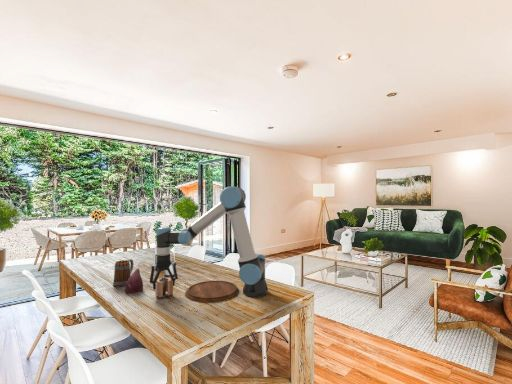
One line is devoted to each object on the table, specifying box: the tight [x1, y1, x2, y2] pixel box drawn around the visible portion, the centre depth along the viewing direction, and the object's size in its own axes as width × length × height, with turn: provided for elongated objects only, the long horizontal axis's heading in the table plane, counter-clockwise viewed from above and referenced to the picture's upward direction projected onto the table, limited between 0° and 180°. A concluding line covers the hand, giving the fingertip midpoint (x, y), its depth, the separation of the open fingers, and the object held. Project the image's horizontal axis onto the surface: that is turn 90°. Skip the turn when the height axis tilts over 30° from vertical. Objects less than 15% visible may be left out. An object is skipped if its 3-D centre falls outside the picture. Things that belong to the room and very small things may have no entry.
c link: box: [156, 276, 174, 298], centre depth 155 cm, size 8×8×8 cm
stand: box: [161, 276, 168, 298], centre depth 155 cm, size 4×4×11 cm
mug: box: [112, 258, 134, 288], centre depth 179 cm, size 16×11×15 cm
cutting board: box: [184, 280, 240, 304], centre depth 162 cm, size 32×32×3 cm
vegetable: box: [124, 267, 144, 295], centre depth 165 cm, size 10×10×15 cm
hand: (164, 293), depth 155 cm, fingers closed on c link, 8 cm apart
